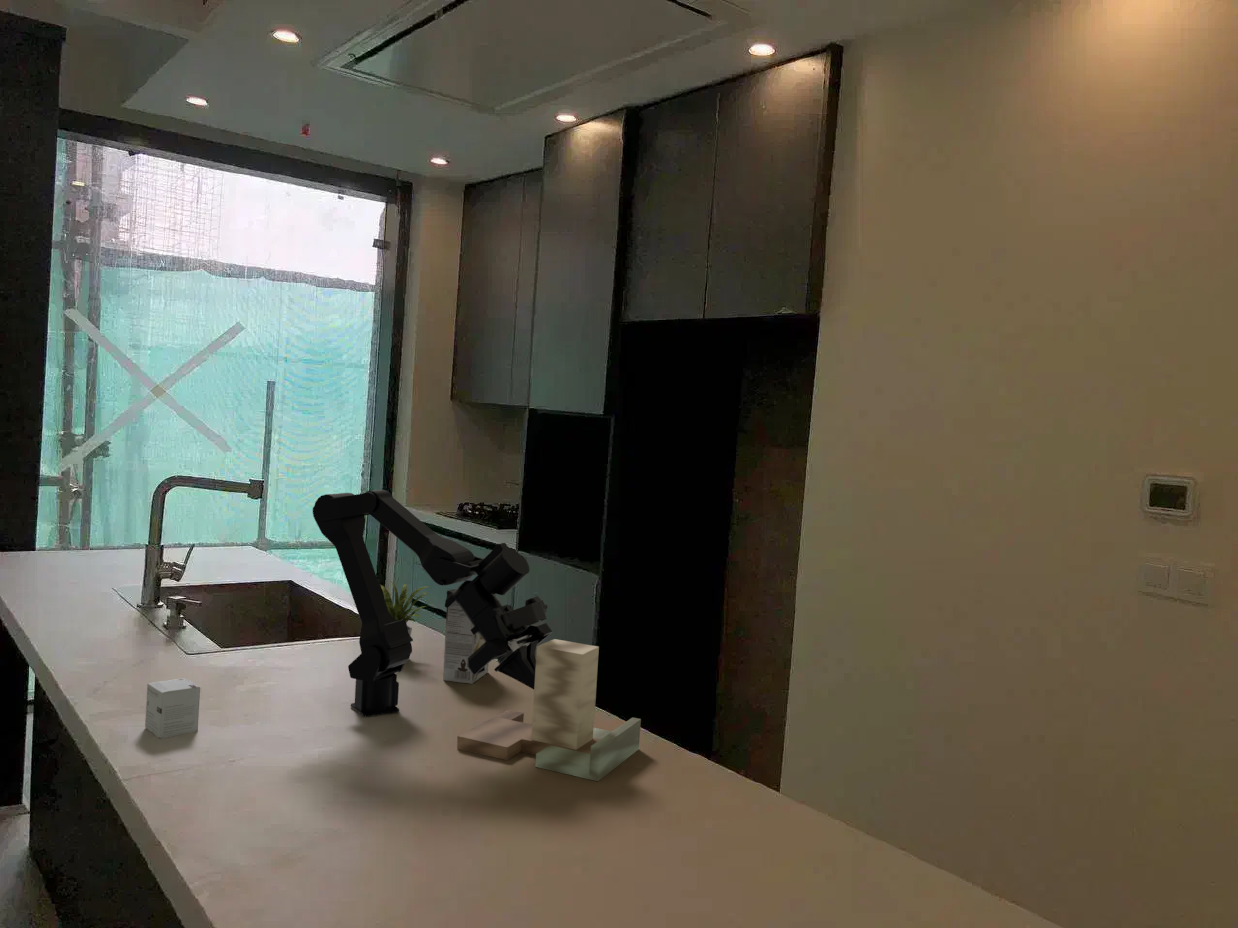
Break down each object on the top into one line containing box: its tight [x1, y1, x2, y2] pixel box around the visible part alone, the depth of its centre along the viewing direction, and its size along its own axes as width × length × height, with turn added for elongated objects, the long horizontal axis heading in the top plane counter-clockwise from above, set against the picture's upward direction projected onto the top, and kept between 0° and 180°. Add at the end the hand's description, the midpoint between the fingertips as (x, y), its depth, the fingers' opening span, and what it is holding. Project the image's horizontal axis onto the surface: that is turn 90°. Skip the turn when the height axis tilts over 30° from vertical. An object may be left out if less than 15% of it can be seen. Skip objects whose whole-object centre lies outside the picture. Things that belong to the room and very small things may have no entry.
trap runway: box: [456, 709, 642, 782], centre depth 156 cm, size 24×16×5 cm, turn 67°
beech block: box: [531, 638, 600, 750], centre depth 155 cm, size 8×6×15 cm
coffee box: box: [442, 604, 489, 685], centre depth 193 cm, size 9×6×16 cm
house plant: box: [379, 579, 430, 637], centre depth 204 cm, size 14×14×16 cm
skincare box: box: [144, 677, 201, 739], centre depth 154 cm, size 6×6×7 cm
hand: (541, 689), depth 157 cm, fingers closed
